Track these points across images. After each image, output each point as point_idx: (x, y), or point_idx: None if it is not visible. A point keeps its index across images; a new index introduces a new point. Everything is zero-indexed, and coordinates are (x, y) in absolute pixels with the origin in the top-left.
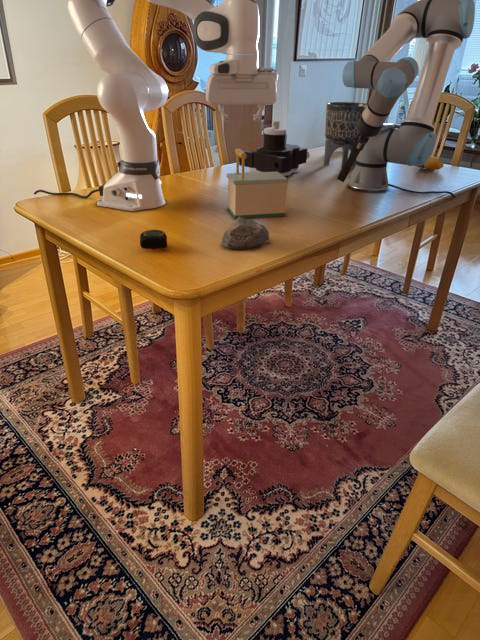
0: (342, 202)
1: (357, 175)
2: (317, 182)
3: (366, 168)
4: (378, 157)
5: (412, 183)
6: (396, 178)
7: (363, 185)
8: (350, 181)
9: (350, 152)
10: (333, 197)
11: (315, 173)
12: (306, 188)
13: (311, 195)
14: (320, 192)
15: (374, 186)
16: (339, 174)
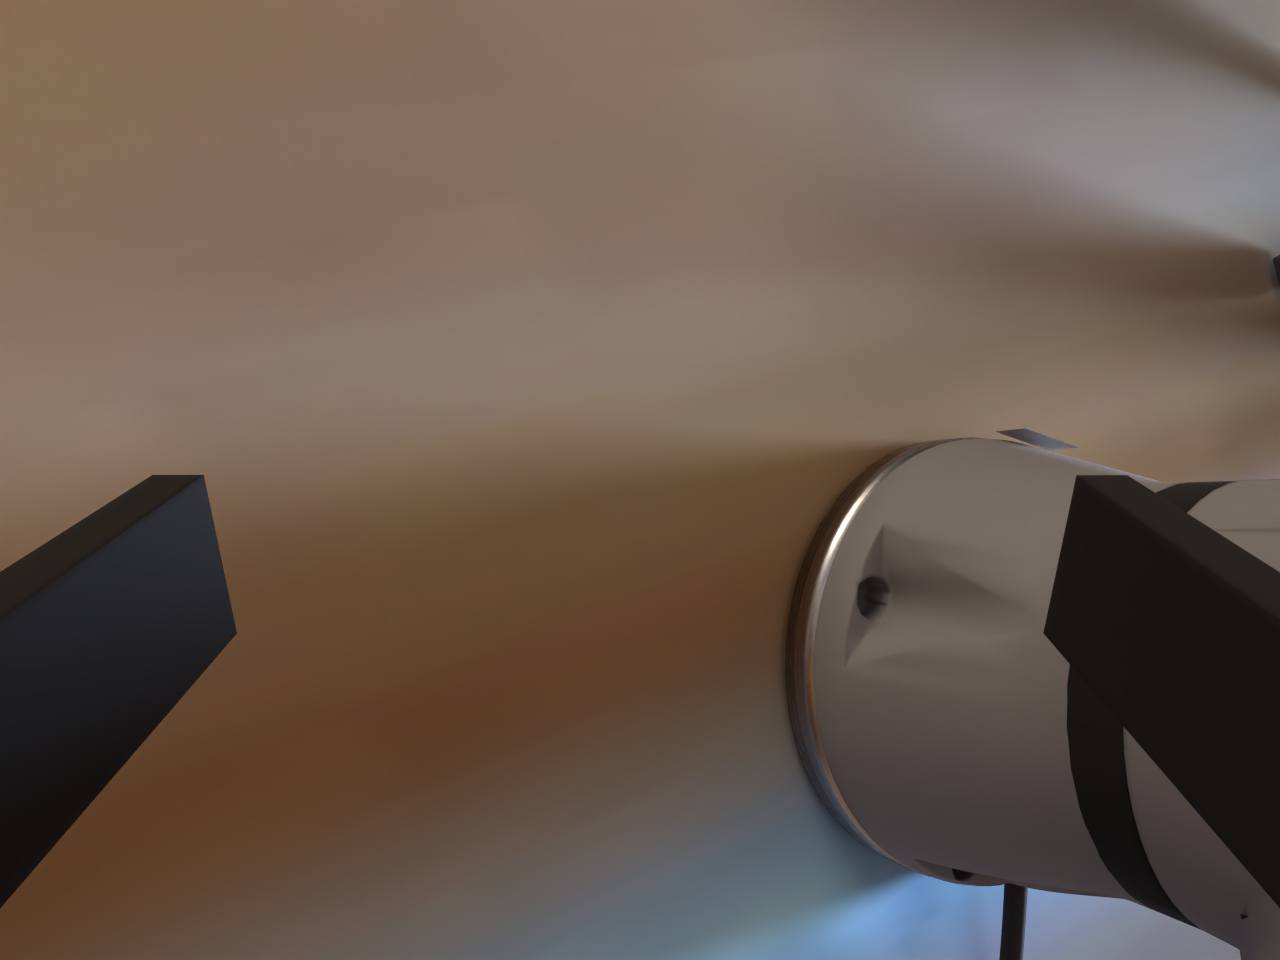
0: None
1: (955, 574)
2: (888, 105)
3: (1051, 706)
4: (1270, 926)
5: None
6: None
7: (835, 679)
8: (906, 484)
9: (1115, 503)
10: (347, 433)
11: (1135, 45)
12: (598, 4)
13: (276, 111)
14: (507, 209)
15: (862, 805)
16: (45, 553)
